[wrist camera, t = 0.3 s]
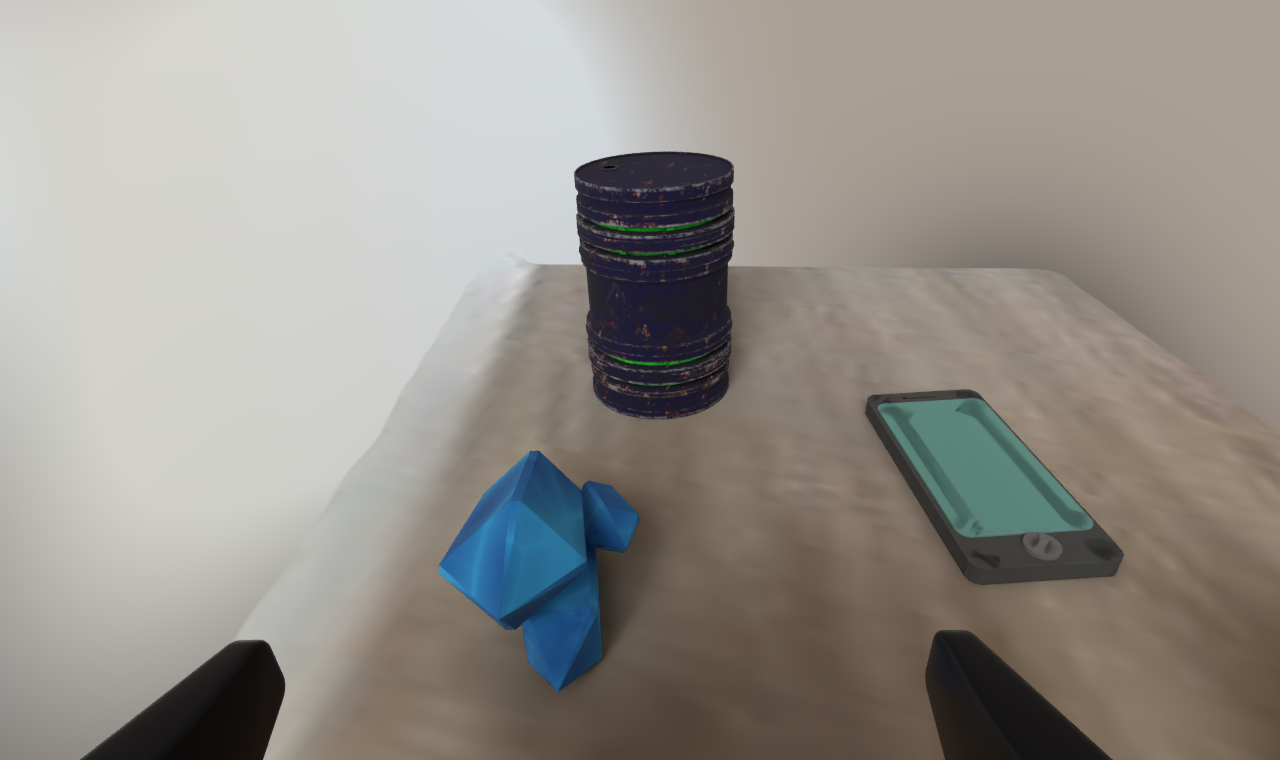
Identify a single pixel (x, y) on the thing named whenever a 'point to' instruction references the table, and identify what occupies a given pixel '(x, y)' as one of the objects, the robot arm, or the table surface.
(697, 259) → the storage jar
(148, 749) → the robot arm
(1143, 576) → the table surface
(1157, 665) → the table surface
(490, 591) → the crystal
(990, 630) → the table surface
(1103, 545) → the smartphone
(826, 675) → the table surface
